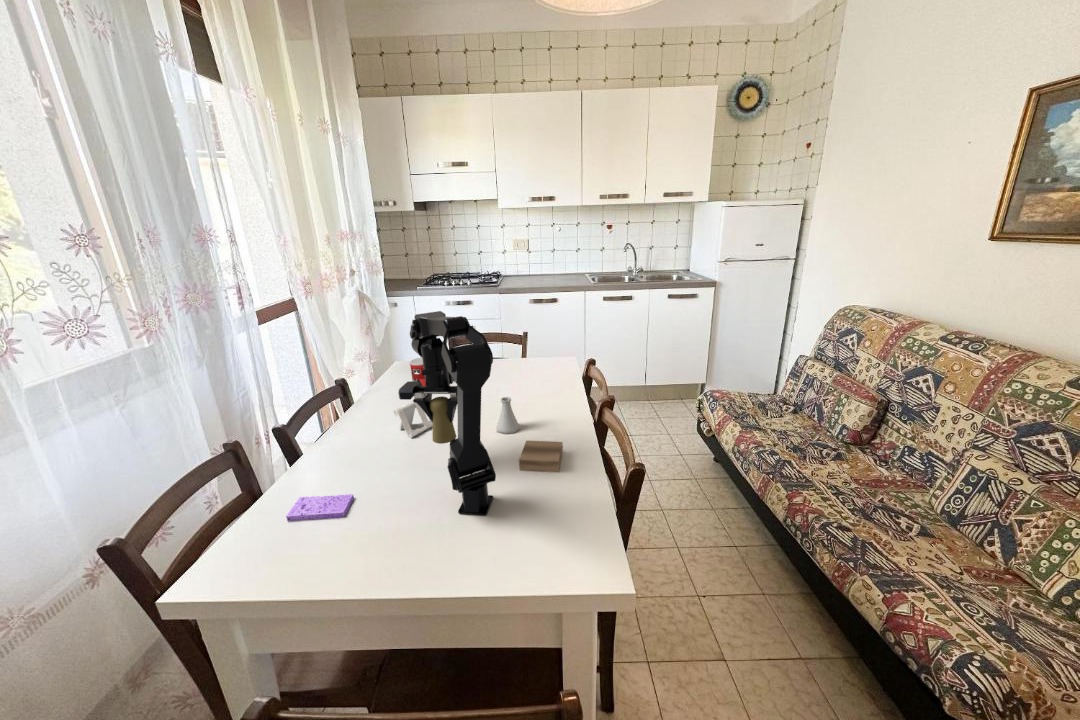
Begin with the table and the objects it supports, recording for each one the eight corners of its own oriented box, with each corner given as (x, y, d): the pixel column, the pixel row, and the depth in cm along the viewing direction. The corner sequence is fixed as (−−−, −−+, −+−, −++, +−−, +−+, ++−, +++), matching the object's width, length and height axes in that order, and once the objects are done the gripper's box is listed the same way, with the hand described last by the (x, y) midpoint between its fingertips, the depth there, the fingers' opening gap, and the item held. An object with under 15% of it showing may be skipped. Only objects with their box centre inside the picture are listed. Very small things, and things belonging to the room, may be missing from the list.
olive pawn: (427, 441, 111) (422, 401, 108) (442, 430, 116) (437, 392, 113) (446, 445, 109) (441, 404, 105) (461, 434, 114) (456, 395, 110)
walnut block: (558, 472, 110) (558, 461, 109) (519, 470, 112) (519, 460, 111) (562, 451, 119) (562, 442, 118) (526, 450, 121) (526, 440, 120)
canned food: (412, 386, 170) (408, 359, 167) (432, 382, 173) (429, 355, 170) (415, 392, 164) (411, 365, 160) (436, 388, 167) (433, 361, 163)
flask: (516, 435, 129) (514, 404, 126) (493, 433, 131) (490, 403, 128) (522, 424, 136) (520, 394, 133) (499, 422, 137) (497, 393, 134)
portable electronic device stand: (412, 439, 130) (408, 413, 127) (394, 433, 134) (390, 408, 131) (433, 427, 136) (430, 402, 134) (416, 421, 140) (412, 398, 138)
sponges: (301, 503, 103) (299, 496, 102) (355, 499, 103) (354, 492, 103) (286, 523, 96) (284, 516, 96) (344, 519, 97) (343, 512, 96)
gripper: (480, 353, 113) (485, 408, 118) (411, 353, 115) (419, 408, 120) (468, 367, 102) (475, 427, 107) (393, 367, 105) (402, 426, 109)
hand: (442, 421), depth 111 cm, fingers closed on olive pawn, 4 cm apart
